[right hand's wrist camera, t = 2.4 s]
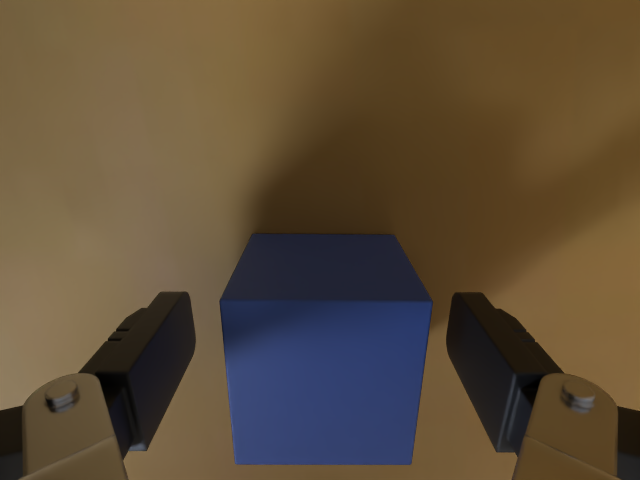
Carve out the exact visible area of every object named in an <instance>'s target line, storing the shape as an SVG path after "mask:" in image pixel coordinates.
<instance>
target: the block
mask: <svg viewBox="0 0 640 480" xmlns="http://www.w3.org/2000/svg"><path fill="white" fill-rule="evenodd" d="M432 305H433V301H432V299H431V297H430V296H429V294H428V292H427V291H426V289H425V287H424V285H423V284H422V282H421V280H420V278H419V277H418V275H417V273H416V271H415V270H414V268H413V266H412V265H411V263H410V261H409V259H408V258H407V256H406V254H405V252H404V251H403V249H402V247H401V246H400V244H399V242H398V240H397V239H396V237H395V235H360V234H252V236H251V238H250V240H249V242H248V244H247V246H246V248H245V250H244V252H243V254H242V256H241V258H240V260H239V262H238V264H237V266H236V268H235V270H234V272H233V274H232V276H231V278H230V280H229V282H228V284H227V286H226V288H225V290H224V292H223V295H222V297H221V299H220V311H221V321H222V332H223V342H224V353H225V363H226V374H227V384H228V395H229V405H230V416H231V426H232V437H233V447H234V458H235V464H253V465H410V464H411V463H412V456H413V448H414V441H415V433H416V426H417V418H418V410H419V403H420V395H421V388H422V380H423V373H424V365H425V358H426V350H427V343H428V335H429V327H430V320H431V312H432Z"/></svg>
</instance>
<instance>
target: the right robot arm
mask: <svg viewBox="0 0 640 480" xmlns="http://www.w3.org/2000/svg"><path fill="white" fill-rule="evenodd" d="M195 343H196V336H195V328H194V321H193V314H192V307H191V301H190V296H189V294H188V293H187V292H160V293H159V294H158V295H157V296H156V298H155V299H154V300H153V301H152V303H151V304H150V305H149V306H148V307H147V308H141V309H139V310H138V311H136V312H135V313H133V314H131V315H130V316H128V317H127V318H126V319H125V320H124V321H123V322H122V323H121V324H120V326H119V327H118V328H117V329H116V332H113V334H112V335H111V336H110V337H109V338H108V341H106V342H105V343H104V344H103V345H102V346H101V347H100V348H99V350H98V351H97V352H96V353H95V354H94V355H93V356H92V358H91V359H90V360H89V361H88V362H87V363H86V364H85V366H84V367H83V368H82V369H81V370H80V371H79V372H78V373H76V374H70V375H66V376H63V377H60V378H57V379H55V380H52V381H50V382H48V383H47V384H45V385H43V386H42V387H40V388H39V389H37V390H36V391H35V392H34V393H33V394H31V395H30V397H29V398H28V399H27V400H26V402H25V403H24V405H23V406H18V407H14V408H9V409H5V410H0V480H128V476H127V473H126V470H125V466H124V463H123V459H124V458H125V456H126V454H127V452H128V451H147V449H148V447H149V445H150V443H151V441H152V439H153V436H154V434H155V432H156V430H157V428H158V426H159V424H160V422H161V420H162V418H163V416H164V414H165V412H166V410H167V408H168V406H169V404H170V402H171V400H172V398H173V396H174V394H175V391H176V389H177V387H178V385H179V383H180V381H181V379H182V377H183V375H184V373H185V371H186V369H187V367H188V365H189V363H190V361H191V359H192V357H193V354H194V350H195ZM446 345H447V351H448V355H449V357H450V360H451V362H452V364H453V366H454V368H455V370H456V372H457V374H458V376H459V378H460V380H461V382H462V384H463V386H464V388H465V390H466V392H467V394H468V396H469V398H470V400H471V402H472V404H473V406H474V408H475V410H476V412H477V414H478V416H479V418H480V420H481V422H482V424H483V426H484V428H485V430H486V432H487V434H488V436H489V438H490V440H491V442H492V444H493V447H494V449H495V451H496V452H515V453H516V455H517V457H518V459H517V463H516V466H515V470H514V473H513V476H512V480H640V411H637V410H632V409H628V408H624V407H619V406H617V405H616V403H615V402H614V400H613V399H612V398H611V397H610V395H609V394H607V393H606V392H605V391H604V390H603V389H601V388H600V387H598V386H597V385H595V384H593V383H592V382H590V381H588V380H585V379H583V378H580V377H577V376H574V375H570V374H565V373H564V372H563V371H562V370H561V369H560V368H559V367H558V365H557V364H556V363H555V362H554V361H553V360H552V359H551V358H550V356H549V355H548V354H547V353H546V352H545V351H544V350H543V348H542V347H541V346H540V345H539V344H538V343H537V342H535V339H534V338H533V337H532V336H531V335H530V334H529V333H528V332H526V329H525V328H524V327H523V326H522V325H521V323H520V322H519V321H518V320H517V319H516V318H515V317H513V316H511V315H510V314H508V313H507V312H505V311H503V310H502V309H495V308H494V306H493V305H492V304H491V303H490V302H489V300H488V299H487V298H486V297H485V296H484V294H483V293H481V292H456V293H454V295H453V297H452V301H451V308H450V315H449V321H448V328H447V335H446Z"/></svg>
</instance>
